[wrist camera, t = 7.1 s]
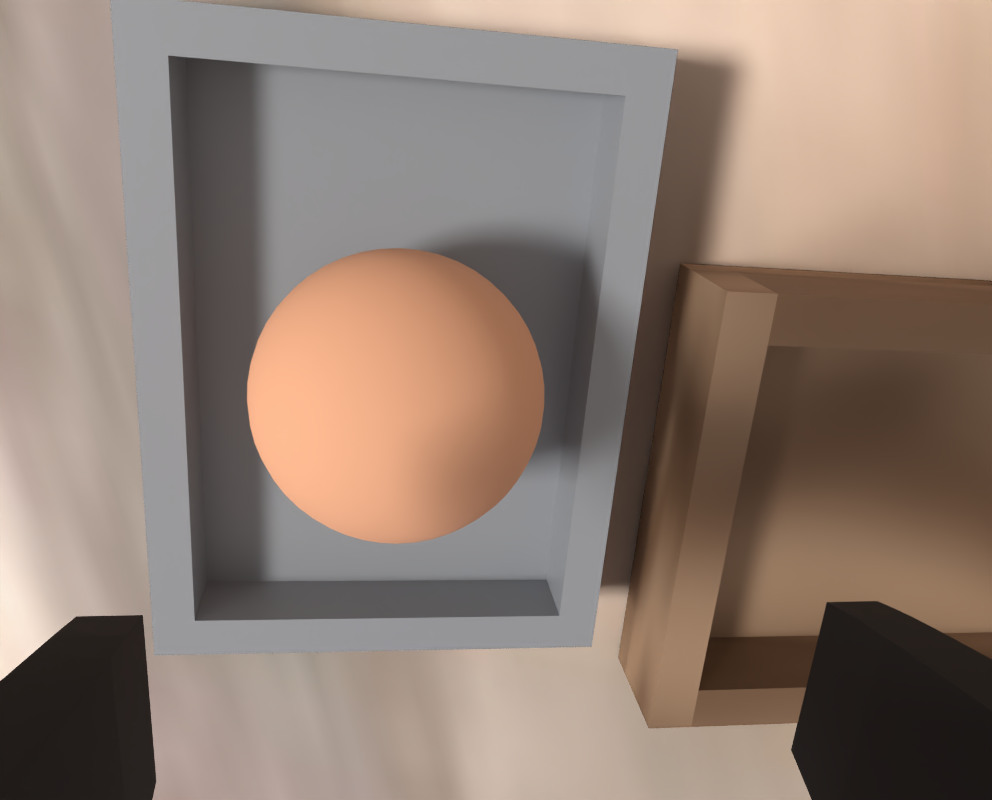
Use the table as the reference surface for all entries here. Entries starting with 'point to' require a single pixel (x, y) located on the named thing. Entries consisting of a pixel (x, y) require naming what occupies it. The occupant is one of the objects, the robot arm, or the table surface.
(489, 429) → the brown egg
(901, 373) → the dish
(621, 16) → the table surface
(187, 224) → the tray
